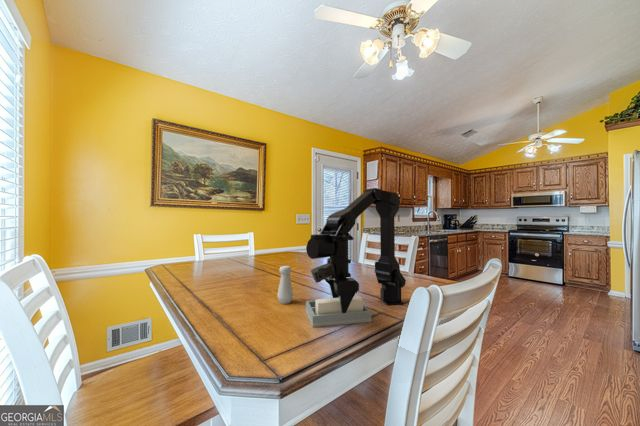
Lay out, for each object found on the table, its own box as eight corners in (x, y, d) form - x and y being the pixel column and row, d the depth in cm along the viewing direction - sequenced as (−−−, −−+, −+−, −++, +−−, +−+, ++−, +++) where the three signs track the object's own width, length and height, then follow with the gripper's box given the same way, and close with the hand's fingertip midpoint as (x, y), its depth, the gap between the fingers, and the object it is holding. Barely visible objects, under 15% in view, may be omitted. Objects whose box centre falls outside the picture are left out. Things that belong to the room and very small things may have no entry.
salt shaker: (285, 305, 88) (285, 268, 88) (274, 302, 91) (273, 266, 92) (296, 301, 92) (296, 266, 93) (285, 298, 96) (285, 264, 96)
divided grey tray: (356, 306, 87) (356, 297, 87) (371, 321, 74) (371, 311, 74) (305, 310, 83) (305, 301, 84) (312, 327, 70) (312, 316, 70)
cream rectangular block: (358, 311, 79) (358, 295, 79) (363, 316, 76) (363, 299, 76) (315, 316, 76) (315, 299, 76) (318, 320, 72) (318, 303, 72)
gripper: (308, 252, 84) (308, 299, 83) (319, 261, 65) (319, 322, 65) (340, 251, 86) (340, 297, 85) (359, 260, 68) (360, 318, 67)
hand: (339, 307), depth 76 cm, fingers open, 9 cm apart
